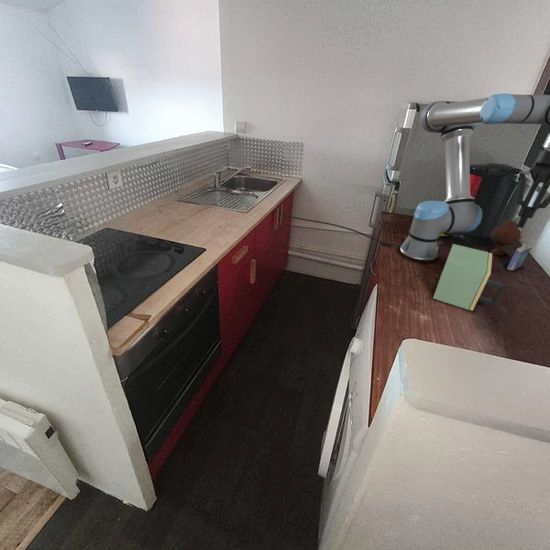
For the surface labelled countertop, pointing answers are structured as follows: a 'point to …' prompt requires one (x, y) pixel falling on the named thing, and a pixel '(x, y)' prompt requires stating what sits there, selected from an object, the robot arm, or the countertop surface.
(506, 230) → the ice cream bowl
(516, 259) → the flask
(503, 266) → the countertop surface
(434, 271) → the countertop surface
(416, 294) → the countertop surface
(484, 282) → the door
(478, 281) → the cupboard
